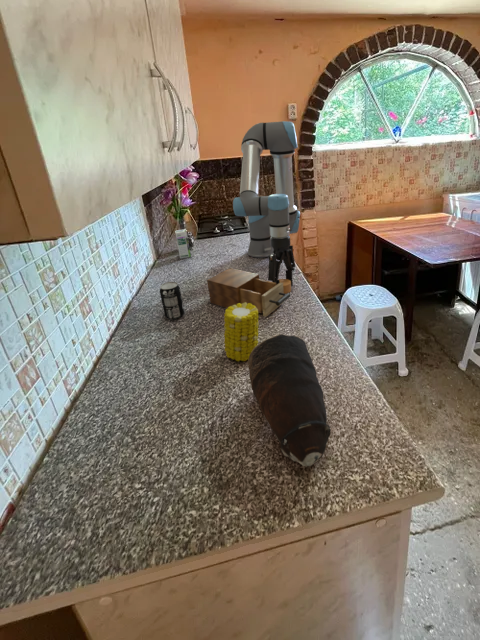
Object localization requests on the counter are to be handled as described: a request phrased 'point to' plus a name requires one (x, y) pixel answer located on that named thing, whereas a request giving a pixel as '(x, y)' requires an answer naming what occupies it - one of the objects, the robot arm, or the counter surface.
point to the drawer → (263, 295)
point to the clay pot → (290, 396)
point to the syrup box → (183, 243)
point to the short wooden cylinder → (286, 285)
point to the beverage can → (171, 300)
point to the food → (241, 331)
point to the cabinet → (228, 286)
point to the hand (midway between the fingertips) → (283, 289)
